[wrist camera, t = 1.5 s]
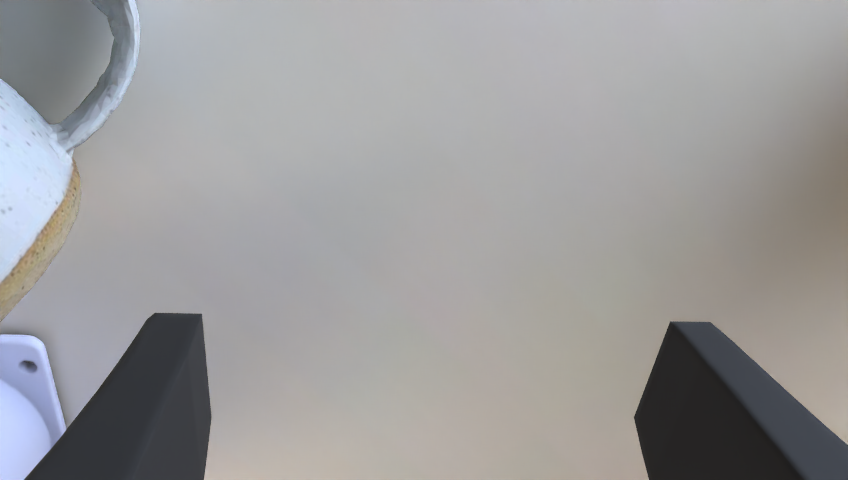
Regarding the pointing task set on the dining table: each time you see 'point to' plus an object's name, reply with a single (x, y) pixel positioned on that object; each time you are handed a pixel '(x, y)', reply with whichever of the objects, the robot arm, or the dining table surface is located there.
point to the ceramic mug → (52, 162)
